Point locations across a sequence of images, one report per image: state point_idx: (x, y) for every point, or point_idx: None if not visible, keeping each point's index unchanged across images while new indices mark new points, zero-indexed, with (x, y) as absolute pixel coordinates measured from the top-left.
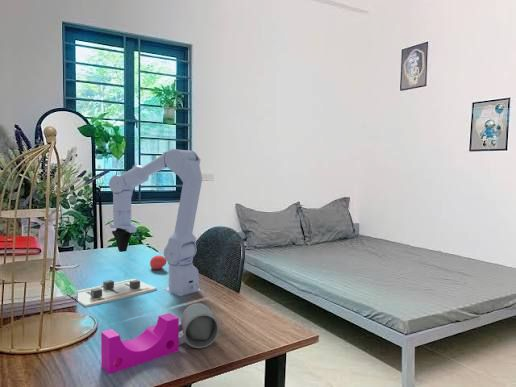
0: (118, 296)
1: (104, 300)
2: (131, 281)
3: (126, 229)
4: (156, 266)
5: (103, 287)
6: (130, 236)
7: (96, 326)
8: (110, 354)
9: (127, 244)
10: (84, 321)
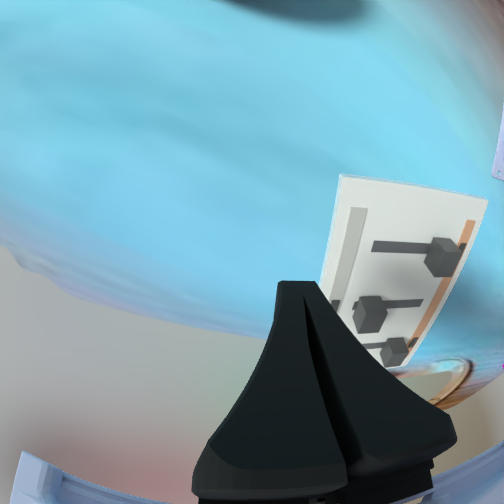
0: (436, 310)
1: (423, 338)
2: (441, 274)
3: (429, 494)
4: None
5: (353, 318)
6: (406, 391)
7: (465, 360)
8: None
9: (341, 324)
10: (441, 368)
